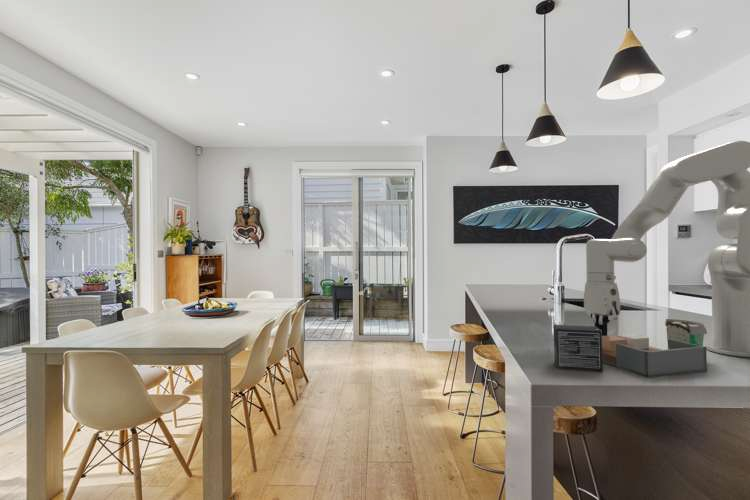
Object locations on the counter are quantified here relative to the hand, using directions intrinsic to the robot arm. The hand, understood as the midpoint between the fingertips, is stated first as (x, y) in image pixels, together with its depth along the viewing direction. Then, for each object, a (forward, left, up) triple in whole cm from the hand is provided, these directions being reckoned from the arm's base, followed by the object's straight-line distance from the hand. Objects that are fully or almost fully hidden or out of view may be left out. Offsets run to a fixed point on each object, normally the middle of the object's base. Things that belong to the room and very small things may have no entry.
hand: (601, 336), depth 118 cm
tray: (+4, +23, -3) cm, 23 cm away
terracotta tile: (+7, +11, -1) cm, 13 cm away
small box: (+23, +16, -3) cm, 28 cm away
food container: (-12, +18, -3) cm, 22 cm away
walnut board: (+4, +12, -3) cm, 13 cm away
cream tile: (0, +11, -1) cm, 11 cm away
